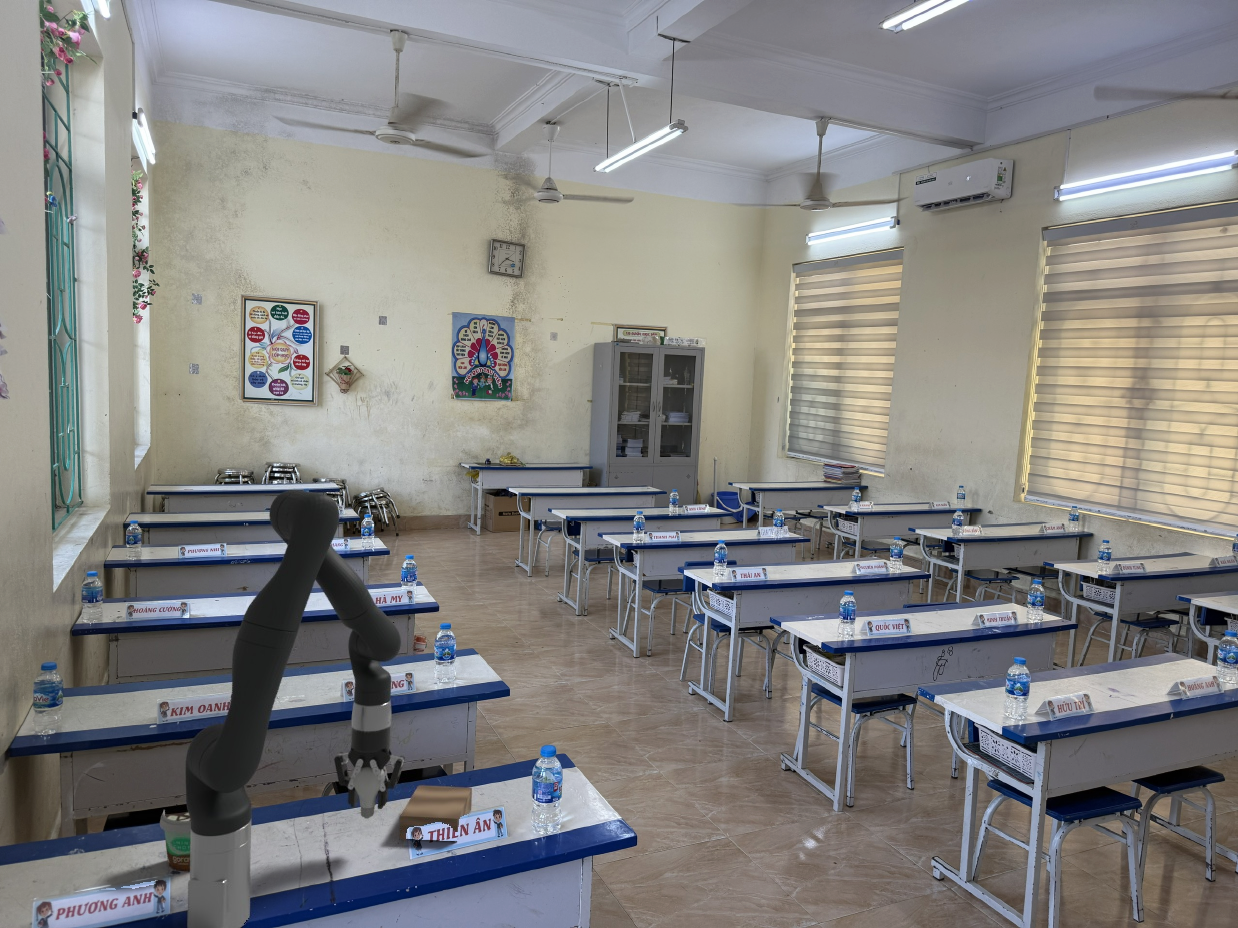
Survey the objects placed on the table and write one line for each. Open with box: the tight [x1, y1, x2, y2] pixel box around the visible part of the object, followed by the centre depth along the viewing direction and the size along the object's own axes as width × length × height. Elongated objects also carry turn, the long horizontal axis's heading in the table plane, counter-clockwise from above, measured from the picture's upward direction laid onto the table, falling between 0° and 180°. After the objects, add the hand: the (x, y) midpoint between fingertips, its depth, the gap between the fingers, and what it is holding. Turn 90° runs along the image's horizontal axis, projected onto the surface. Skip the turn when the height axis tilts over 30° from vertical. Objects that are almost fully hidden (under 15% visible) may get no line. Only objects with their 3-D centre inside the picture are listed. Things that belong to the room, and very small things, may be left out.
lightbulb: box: [353, 767, 385, 820], centre depth 158 cm, size 6×6×11 cm
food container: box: [159, 809, 191, 873], centre depth 150 cm, size 12×6×10 cm, turn 105°
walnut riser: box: [398, 784, 473, 841], centre depth 169 cm, size 14×12×5 cm
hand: (367, 805), depth 158 cm, fingers closed on lightbulb, 5 cm apart
